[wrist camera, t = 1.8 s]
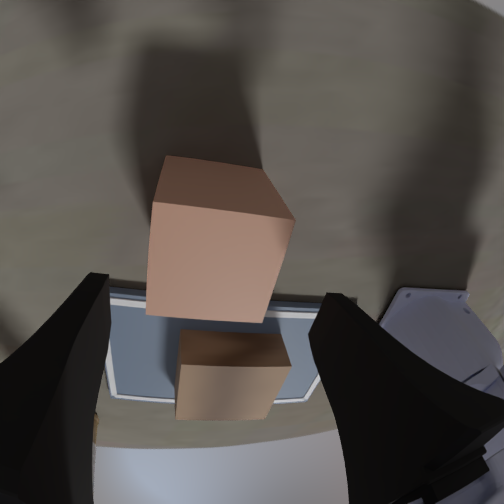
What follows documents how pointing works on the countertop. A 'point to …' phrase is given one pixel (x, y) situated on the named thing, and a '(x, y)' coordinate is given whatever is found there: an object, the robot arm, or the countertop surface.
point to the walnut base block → (228, 374)
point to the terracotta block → (215, 241)
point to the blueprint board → (168, 330)
